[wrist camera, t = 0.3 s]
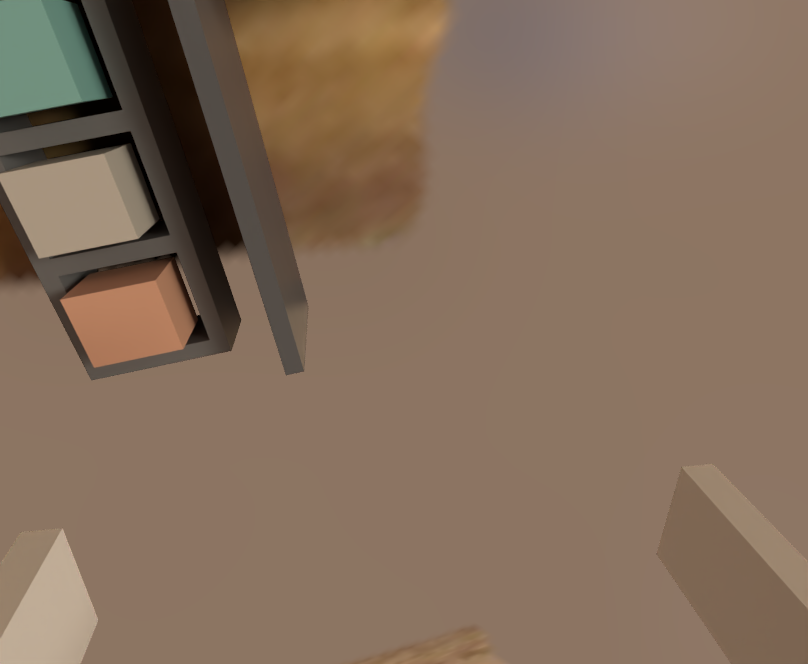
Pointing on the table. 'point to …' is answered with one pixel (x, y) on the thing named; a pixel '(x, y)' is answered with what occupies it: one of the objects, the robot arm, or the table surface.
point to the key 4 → (131, 312)
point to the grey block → (81, 200)
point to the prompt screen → (245, 169)
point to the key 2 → (46, 58)
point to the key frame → (170, 179)
